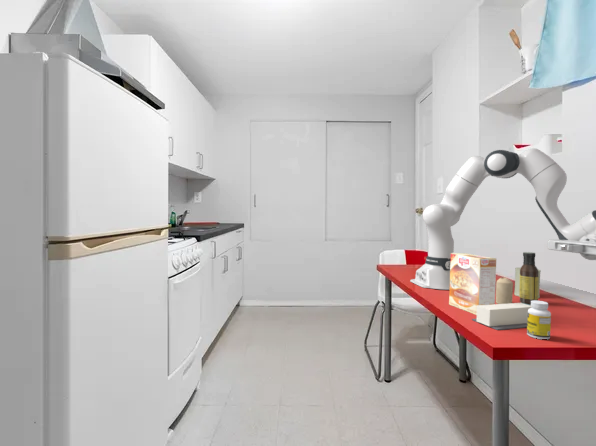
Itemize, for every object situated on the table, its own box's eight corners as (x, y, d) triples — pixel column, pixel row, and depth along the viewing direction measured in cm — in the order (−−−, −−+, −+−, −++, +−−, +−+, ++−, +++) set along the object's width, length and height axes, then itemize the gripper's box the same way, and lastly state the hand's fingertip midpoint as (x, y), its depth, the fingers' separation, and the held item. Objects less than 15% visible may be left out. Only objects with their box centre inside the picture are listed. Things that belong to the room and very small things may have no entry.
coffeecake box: (448, 304, 132) (449, 253, 131) (464, 303, 134) (465, 252, 133) (477, 316, 117) (479, 258, 117) (495, 315, 119) (497, 257, 119)
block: (521, 317, 115) (476, 321, 110) (521, 302, 115) (477, 305, 110) (535, 322, 110) (489, 326, 105) (535, 306, 110) (489, 309, 105)
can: (527, 298, 144) (528, 269, 144) (508, 293, 153) (509, 266, 153) (545, 298, 146) (546, 269, 146) (526, 293, 155) (527, 266, 155)
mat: (471, 320, 112) (471, 318, 112) (510, 317, 117) (511, 315, 117) (497, 330, 103) (497, 328, 103) (539, 326, 107) (539, 325, 107)
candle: (514, 306, 132) (515, 279, 131) (498, 305, 133) (499, 278, 133) (508, 302, 137) (509, 277, 137) (493, 301, 138) (494, 276, 138)
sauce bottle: (531, 301, 140) (533, 251, 140) (541, 305, 134) (544, 253, 133) (515, 300, 140) (517, 251, 140) (525, 304, 134) (527, 253, 133)
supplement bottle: (522, 332, 101) (524, 299, 101) (542, 333, 100) (544, 300, 100) (533, 339, 96) (534, 304, 95) (554, 340, 95) (556, 305, 95)
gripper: (564, 235, 130) (535, 235, 126) (629, 240, 110) (598, 241, 106) (563, 252, 130) (534, 253, 126) (628, 260, 111) (596, 261, 107)
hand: (564, 247), depth 116 cm, fingers closed
